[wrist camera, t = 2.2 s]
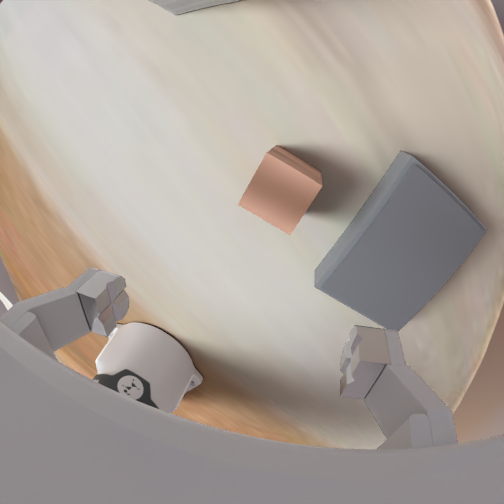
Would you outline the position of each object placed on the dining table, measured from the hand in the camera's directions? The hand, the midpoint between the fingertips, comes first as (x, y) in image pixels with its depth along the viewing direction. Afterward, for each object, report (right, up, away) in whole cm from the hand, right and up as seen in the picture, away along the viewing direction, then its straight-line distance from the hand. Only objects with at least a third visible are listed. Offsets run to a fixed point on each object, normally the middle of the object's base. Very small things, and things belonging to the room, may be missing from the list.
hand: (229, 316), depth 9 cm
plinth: (+17, +3, +18) cm, 25 cm away
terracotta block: (+4, +9, +18) cm, 21 cm away
